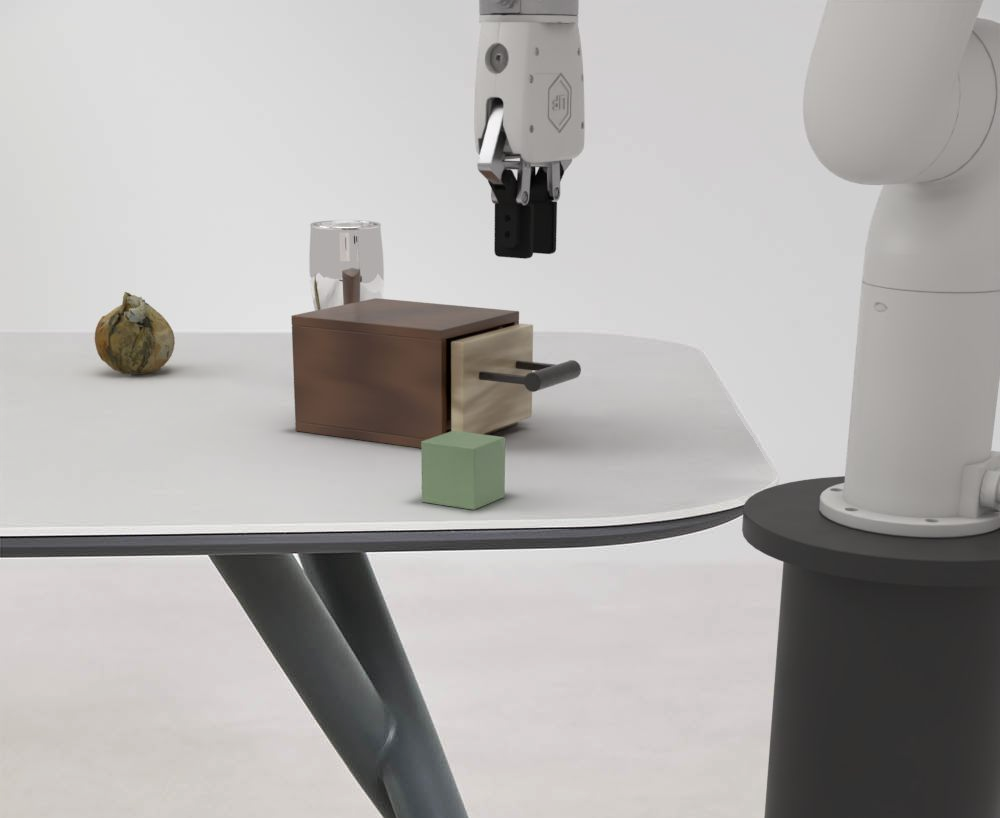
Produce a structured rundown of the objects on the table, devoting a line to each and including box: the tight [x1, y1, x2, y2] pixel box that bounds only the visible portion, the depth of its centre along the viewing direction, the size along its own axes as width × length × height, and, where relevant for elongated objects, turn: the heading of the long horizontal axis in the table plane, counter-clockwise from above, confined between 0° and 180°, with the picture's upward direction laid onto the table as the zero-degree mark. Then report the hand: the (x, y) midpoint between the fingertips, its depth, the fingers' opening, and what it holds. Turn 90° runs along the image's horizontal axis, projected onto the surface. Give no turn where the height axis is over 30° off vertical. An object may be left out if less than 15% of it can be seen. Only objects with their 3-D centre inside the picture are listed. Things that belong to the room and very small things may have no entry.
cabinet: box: [291, 298, 520, 449], centre depth 145 cm, size 15×13×10 cm
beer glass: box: [308, 219, 385, 311], centre depth 161 cm, size 7×7×15 cm
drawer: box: [445, 323, 582, 434], centre depth 143 cm, size 19×11×8 cm, turn 60°
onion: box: [94, 291, 176, 376], centre depth 169 cm, size 8×8×8 cm
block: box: [420, 431, 506, 511], centre depth 123 cm, size 4×4×4 cm
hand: (525, 252), depth 136 cm, fingers open, 3 cm apart
